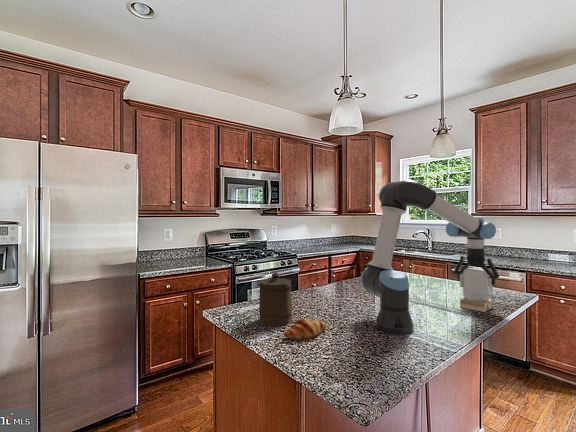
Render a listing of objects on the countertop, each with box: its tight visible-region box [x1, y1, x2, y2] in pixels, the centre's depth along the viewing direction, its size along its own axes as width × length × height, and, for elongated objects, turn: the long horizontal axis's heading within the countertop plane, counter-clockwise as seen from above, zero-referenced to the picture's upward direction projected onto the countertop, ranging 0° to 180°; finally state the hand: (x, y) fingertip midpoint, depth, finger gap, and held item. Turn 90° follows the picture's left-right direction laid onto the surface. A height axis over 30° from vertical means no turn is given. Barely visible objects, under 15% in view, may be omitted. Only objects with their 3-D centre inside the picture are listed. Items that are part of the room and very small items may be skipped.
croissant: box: [283, 318, 328, 340], centre depth 127 cm, size 21×10×8 cm, turn 124°
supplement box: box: [462, 267, 490, 301], centre depth 159 cm, size 9×9×15 cm
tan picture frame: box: [459, 296, 493, 313], centre depth 159 cm, size 11×11×4 cm
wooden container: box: [258, 272, 293, 327], centre depth 143 cm, size 15×15×22 cm
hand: (475, 289), depth 159 cm, fingers open, 13 cm apart
